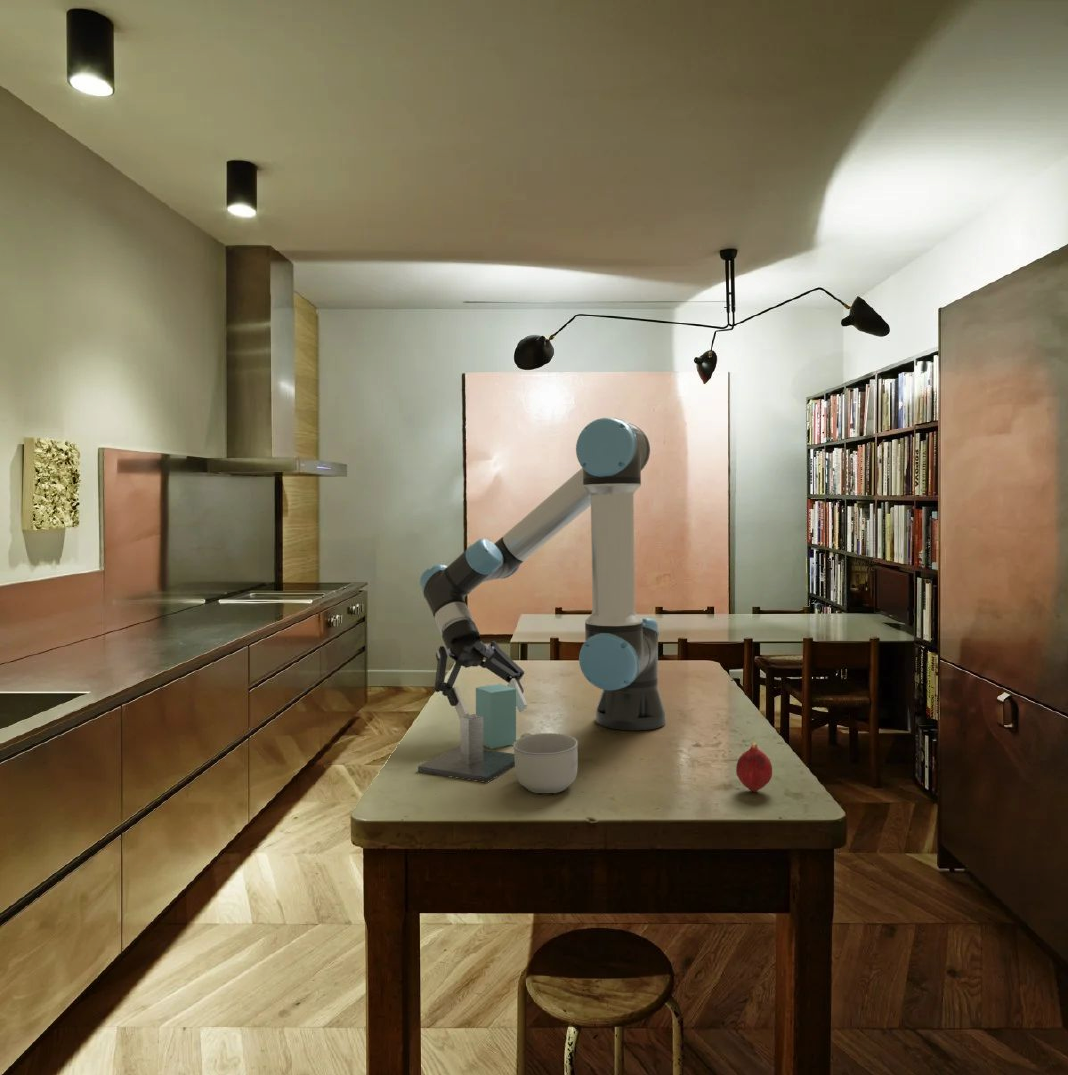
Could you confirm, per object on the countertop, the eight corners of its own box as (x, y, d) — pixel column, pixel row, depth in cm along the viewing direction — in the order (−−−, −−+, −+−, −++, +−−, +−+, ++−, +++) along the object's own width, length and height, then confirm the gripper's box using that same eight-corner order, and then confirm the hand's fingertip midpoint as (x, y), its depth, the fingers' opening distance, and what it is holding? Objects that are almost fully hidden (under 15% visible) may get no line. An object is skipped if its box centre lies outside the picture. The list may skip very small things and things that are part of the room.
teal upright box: (500, 737, 172) (500, 683, 171) (516, 744, 167) (516, 689, 167) (475, 741, 168) (475, 687, 168) (491, 748, 164) (491, 692, 163)
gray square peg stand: (523, 760, 156) (523, 712, 156) (487, 782, 144) (487, 730, 143) (458, 751, 162) (458, 704, 162) (418, 771, 149) (417, 721, 149)
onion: (777, 797, 136) (778, 748, 136) (742, 798, 136) (743, 749, 136) (764, 785, 142) (765, 738, 142) (731, 786, 142) (731, 739, 142)
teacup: (586, 795, 137) (587, 747, 137) (522, 802, 134) (523, 752, 134) (560, 770, 151) (560, 725, 150) (501, 775, 148) (501, 730, 147)
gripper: (500, 634, 188) (538, 714, 176) (398, 644, 174) (432, 732, 162) (513, 613, 184) (553, 694, 172) (410, 622, 169) (445, 711, 158)
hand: (495, 713), depth 167 cm, fingers open, 13 cm apart
